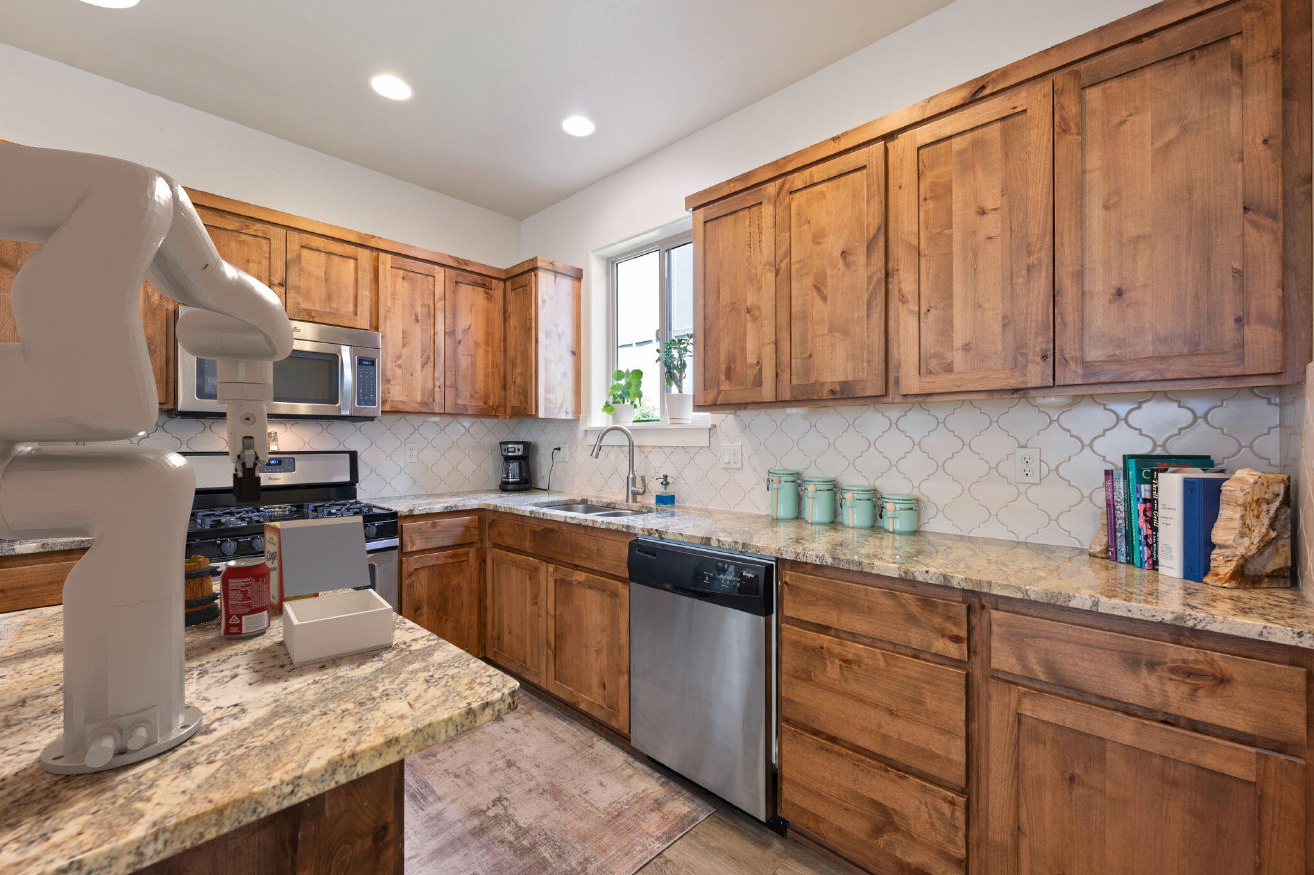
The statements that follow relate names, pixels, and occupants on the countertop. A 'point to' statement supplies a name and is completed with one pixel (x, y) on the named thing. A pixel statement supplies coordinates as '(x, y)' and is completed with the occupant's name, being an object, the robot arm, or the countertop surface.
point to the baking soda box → (277, 567)
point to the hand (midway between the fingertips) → (246, 498)
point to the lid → (323, 555)
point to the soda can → (244, 598)
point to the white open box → (336, 626)
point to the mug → (200, 591)
